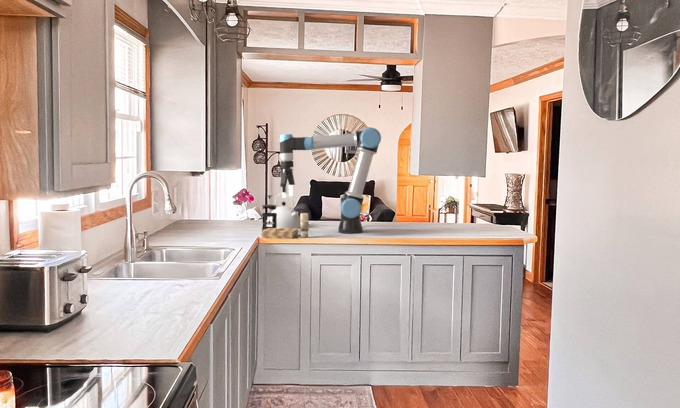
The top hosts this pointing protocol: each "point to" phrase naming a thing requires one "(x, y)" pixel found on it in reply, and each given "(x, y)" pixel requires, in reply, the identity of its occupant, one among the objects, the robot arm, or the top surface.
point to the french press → (273, 215)
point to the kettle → (286, 216)
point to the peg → (304, 225)
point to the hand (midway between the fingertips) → (288, 196)
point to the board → (280, 233)
